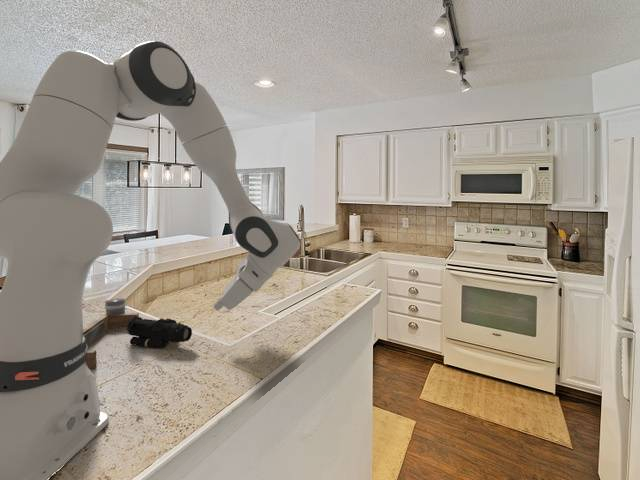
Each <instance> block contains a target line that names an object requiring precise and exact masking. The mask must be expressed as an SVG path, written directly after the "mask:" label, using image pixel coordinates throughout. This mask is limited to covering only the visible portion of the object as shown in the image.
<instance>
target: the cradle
mask: <svg viewBox="0 0 640 480" xmlns="http://www.w3.org/2000/svg"><path fill="white" fill-rule="evenodd" d="M135 315H137V317H140V315H139V313H125V314H106V313H105V314H104V315H102V316H100V317H99V318H97V319H96V320H94V321H93V322H92V323H90V324H89V325H87V326H85V327H83V336H84V337H85V338H86V344H87V346H88V345H89V344H91V343H92V342H93V341H95V340H96V339H97V338H99V336H101V335H102V334H103V333H105V332H106V331H107V330H108V329H127V328H128V327H127V325H128V324H129V321H132V320H133V318H134V317H135ZM97 360H98V359H97V350H95V349H94V350H93V349H92V350H87V360H86V361H85V363H86V365H87V366H88V368H89V370H90V371H91V370H92V371H93V370H95V369H96V368H97V366H98V365H97Z"/></svg>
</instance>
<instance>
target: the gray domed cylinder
mask: <svg viewBox="0 0 640 480" xmlns="http://www.w3.org/2000/svg"><path fill="white" fill-rule="evenodd" d="M126 304H127V303H126V300H125V298H123V297H122V298H110V299H107V300H105V304H104V309H105V314H126V306H127V305H126Z"/></svg>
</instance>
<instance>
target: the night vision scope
mask: <svg viewBox="0 0 640 480" xmlns="http://www.w3.org/2000/svg"><path fill="white" fill-rule="evenodd" d="M127 327H128V328H126V330H127V333H128V335H130V336H132V337H131V338H130V341H129V344H130V345H132V346H137V347H144V348H150V349H157V350H164V347H166V345H167V344H168V343H170V344H174V343H184V342H188V341H189V340H191V338H192V335H193V331H192V328H191V327H190V326H188V325H185V324H184V323H181V322H178V323H177V321H176V320H175V319H171V318H166V319H164V318H162V317H161V318H159V319H157V320H156V319H148V318H147V319H146V318H142V317H140V316H139V317H137V315H135V317H134V318H133V320H132V321H129V324H128V325H127Z"/></svg>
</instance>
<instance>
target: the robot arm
mask: <svg viewBox="0 0 640 480" xmlns="http://www.w3.org/2000/svg"><path fill="white" fill-rule="evenodd" d="M158 114H160V115H161V116H162V117H163V118H165V119H166V120H167V121H168V122H169V123H170V124H171V125H172V127H173V129H174V131H175V132H176V136H177V137H178V139H179V141H180V143H181V145H182V147H183V149H184V151H185V152H186V153H187V155H188V157H189V159H190V160H191V161H192V163H193V164H194V165H195V166H196V167H197V168H198V170H199V172H202V173H203V174H204V175H206V176H207V177H208V178H209V179H211V181H212V182H213V183H214V185H215V187H216V188H217V190H218V192H219V194H220V196H221V198H222V200H223V201H224V203H225V205H226V208H227V211H228V224H229V227H230V230H231V231H232V234H233V236H234V239H235V241H236V242H237V244H238V246H240V247H241V248H242V249H244V250H246V251H247V252H249V253H248V254H247V255H246V256H245V257H244V258H243V259H242V260H241V261H240V262H239V263H238V264H237V265H236V267H237V271H236V272H235V275H234V276H233V277H232V278H231V279H230V280H229V281H228V283H227V285H226V287H225V288H224V291H223V293H222V294H221V296H220V297H219V299H218V300H217V301H216V302H215V303H214V305H213V309H214V310H216V311H220V310H221V309H222V308H226V310H228V311H231V310H233V309H235V308H236V307H237V306H238V305H239V304H241V303H243V301H245V300H246V299H247V297H249V296H251V294H252V293H253V292H254V293H257V292H259V290H260V289H261V288H262V287H263V286H264V285H265V284H266V283H267V282H268V281H269V280H270V279H271V278H272V277H273V276H274V274H275V273H276V271H278V269H280V268H281V267H283V266H284V265H286V264H287V262H288V261H290V260H291V259H292V258H293V256H294V255H295V254H296V253H297V252H298V250H299V249H300V247H301V240H300V237H299V236H298V234H297V232H296V231H295V229H294V228H293V227H292V226H291V225H290V224H289V223H288V222H279V221H277V220H274V219H271V218H268V217H266V216H265V215H264V214H263V212H262V210H261V209H260V208H259V207H258V206H257V205H255V204H253V202H252V201H250V199H249V197H248V195H247V193H246V191H245V189H244V187H243V185H242V181H241V180H240V178H239V175H238V173H237V166H236V163H237V161H236V160H237V151H236V146H235V143H234V140H233V136H232V134H231V132H230V130H229V127H228V125H227V123H226V119H225V118H224V117H223V115H222V112H221V111H220V109H219V107H218V106H217V103H215V101H214V99H213V98H212V96H211V94H210V93H209V92H208V90H207V89H206V88H205V87H204V86H203V85H202V84H200V83H199V82H196V80H195V78H194V75H193V73H192V72H191V70H190V68H189V66H188V64H187V63H186V61H185V59H183V57H182V56H181V55H180V53H178V51H176V50H175V49H174V48H173V47H171V46H170V45H169V44H167V43H165V42H162V41H157V40H153V41H152V40H151V41H146V42H143V43H140V44H138V45H136V46H134V47H133V48H132V49H130V51H128V52H126V53H124V54H122V55H120V56H119V57H118V58H116V59H115V60H114V61H112V62H111V63H107V62H104V61H103V60H102V59H100V58H98V57H96V56H95V55H93V54H92V53H91V54H90V53H88V52H86V51H85V52H84V51H81V50H67V51H64V52H61V53H60V54H59V55H58V56H57V57H56V58H55V59H54V60H53V61H52V63H51V64H50V65H49V67H48V69H47V70H46V71H45V73H44V75H43V76H42V78H41V79H40V81H39V83H38V85H37V87H36V89H35V91H34V93H33V95H32V97H31V100H30V104H29V105H28V108H27V109H26V112H25V116H24V118H23V120H22V123H21V125H20V128H19V130H18V133H17V134H16V137H15V139H14V141H13V142H12V144H11V146H10V148H8V151H7V152H6V153H5V155H4V157H3V158H2V159H1V161H0V259H7V269H6V274H5V278H4V282H3V286H2V287H1V291H0V480H47V479H48V478H49V477H50V476H51V475H52V474H53V473H54V472H56V471H57V470H58V469H60V468H61V467H62V466H63V465H65V464H66V463H67V462H68V461H69V460H70V459H71V458H72V457H73V456H74V455H75V454H76V453H77V452H78V451H79V450H80V449H81V450H83V449H84V448H85V446H86V445H88V443H89V442H91V441H92V440H93V439H94V437H96V436H97V435H98V434H99V433H100V432H101V431H102V430H103V429H104V428H105V427H106V426H107V425H108V424H109V421H110V420H109V416H108V414H106V413H105V412H103V411H101V405H100V396H99V392H98V391H99V390H98V383H97V378H96V376H95V374H94V373H93V372H92V371H91V370H89V368H88V366H87V365H86V363H85V361H86V360H87V350H88V349H89V347H88V345H87V344H86V338H85V337H84V336H83V329H84V326H83V319H84V318H83V317H84V316H83V300H84V299H83V296H84V291H85V285H86V283H87V279H88V276H89V273H90V270H91V268H92V267H93V264H94V263H95V262H96V260H97V259H99V258H100V257H101V256H102V255H103V254H104V253H105V252H106V250H108V248H109V246H111V245H110V244H111V242H112V239H113V235H114V227H113V221H112V218H111V216H110V214H109V213H108V211H107V210H106V209H105V208H104V207H103V206H102V205H101V204H99V203H98V202H96V201H94V200H92V199H89V198H87V197H83V196H81V195H77V194H75V193H76V192H77V191H78V190H79V189H80V188H81V187H82V185H83V184H85V182H87V181H88V180H90V179H91V178H92V177H94V176H95V175H96V174H97V173H98V171H99V170H100V169H101V165H102V161H103V159H104V156H105V153H106V150H107V147H108V144H109V141H110V138H111V135H112V131H113V129H114V126H115V125H114V124H115V120H116V118H117V119H121V120H124V121H131V122H133V121H134V122H135V121H142V120H145V119H147V118H148V117H152V116H154V115H158ZM81 450H80V451H81ZM80 451H79V452H80ZM79 452H78V453H79ZM78 453H77V454H78ZM77 454H76V455H77ZM76 455H75V456H76ZM75 456H74V457H75ZM74 457H73V458H74ZM73 458H72V459H73ZM72 459H71V460H72ZM71 460H70V461H71ZM70 461H69V462H70ZM69 462H68V463H69ZM68 463H67V464H68ZM67 464H66V465H67ZM66 465H65V466H66Z"/></svg>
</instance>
